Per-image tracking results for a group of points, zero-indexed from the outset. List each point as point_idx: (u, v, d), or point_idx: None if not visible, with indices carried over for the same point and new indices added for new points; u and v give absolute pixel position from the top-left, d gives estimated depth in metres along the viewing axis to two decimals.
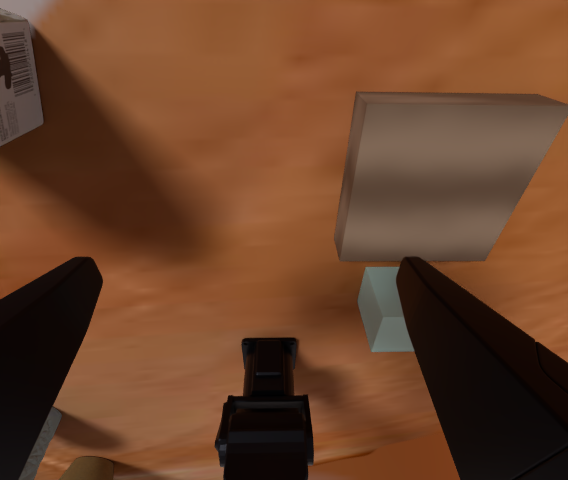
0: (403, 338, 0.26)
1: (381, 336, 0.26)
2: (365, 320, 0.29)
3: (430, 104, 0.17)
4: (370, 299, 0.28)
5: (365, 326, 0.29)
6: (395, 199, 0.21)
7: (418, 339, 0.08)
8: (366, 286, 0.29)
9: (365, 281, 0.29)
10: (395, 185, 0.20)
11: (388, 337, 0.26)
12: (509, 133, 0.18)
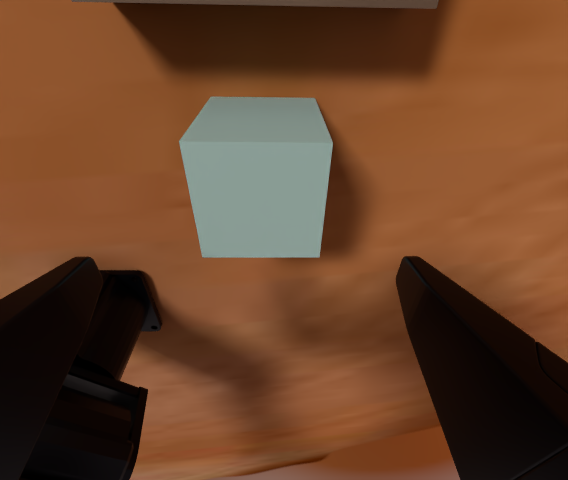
0: (257, 216, 0.12)
1: (205, 211, 0.11)
2: None
3: None
4: None
5: None
6: None
7: (418, 339, 0.08)
8: None
9: None
10: None
11: (222, 214, 0.12)
12: None
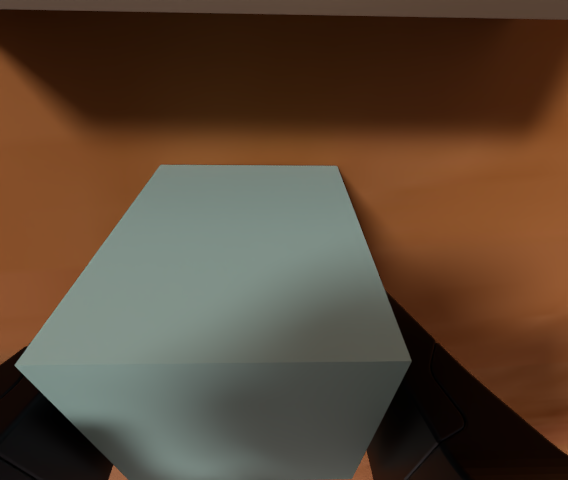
0: (231, 447, 0.06)
1: (120, 444, 0.05)
2: None
3: None
4: None
5: None
6: None
7: None
8: None
9: None
10: None
11: (158, 447, 0.06)
12: None
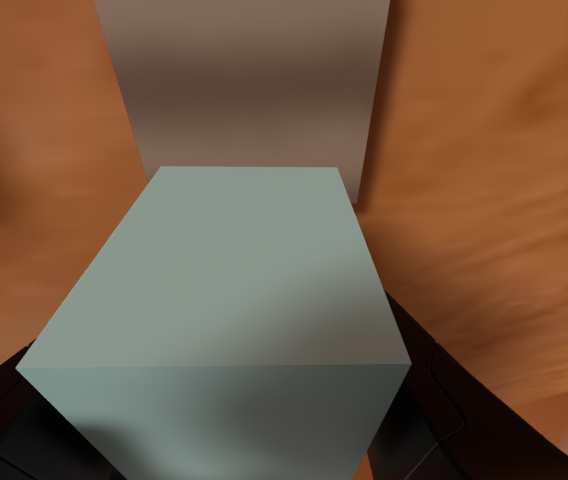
0: (231, 449, 0.06)
1: (120, 446, 0.05)
2: None
3: None
4: None
5: None
6: (189, 101, 0.14)
7: None
8: None
9: None
10: (180, 76, 0.14)
11: (158, 449, 0.06)
12: None
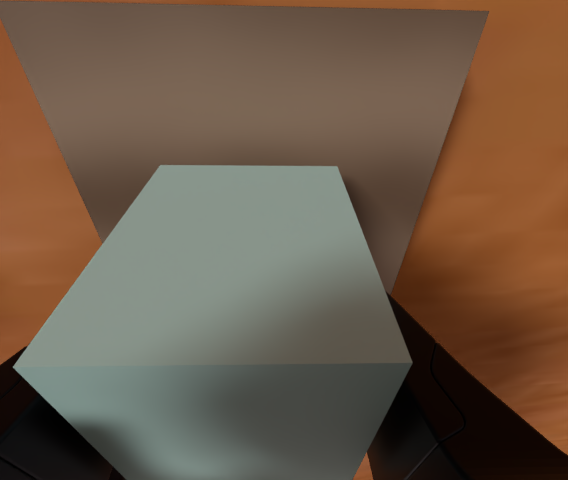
0: (231, 449, 0.06)
1: (119, 446, 0.05)
2: None
3: (150, 4, 0.07)
4: None
5: None
6: None
7: None
8: None
9: None
10: None
11: (157, 449, 0.05)
12: (359, 80, 0.08)
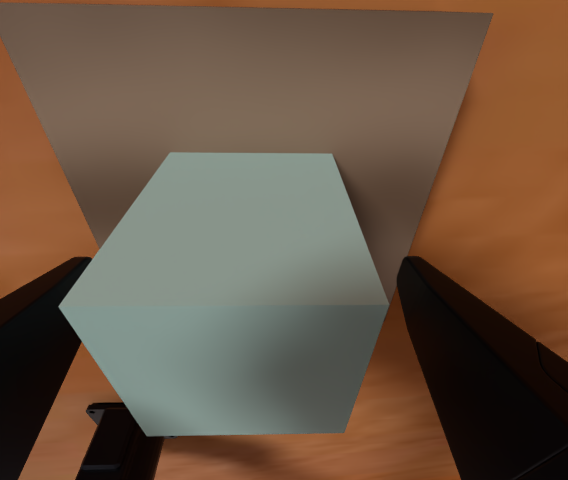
0: (236, 396, 0.06)
1: (139, 391, 0.06)
2: None
3: (146, 6, 0.07)
4: None
5: None
6: None
7: (419, 339, 0.08)
8: None
9: None
10: None
11: (172, 395, 0.06)
12: (361, 83, 0.08)
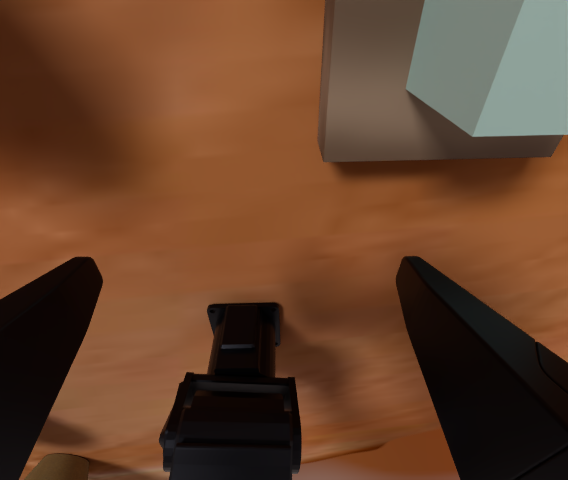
0: None
1: (525, 44, 0.08)
2: (441, 83, 0.11)
3: None
4: None
5: (441, 101, 0.11)
6: (410, 25, 0.12)
7: (418, 339, 0.08)
8: None
9: None
10: None
11: (547, 51, 0.08)
12: None
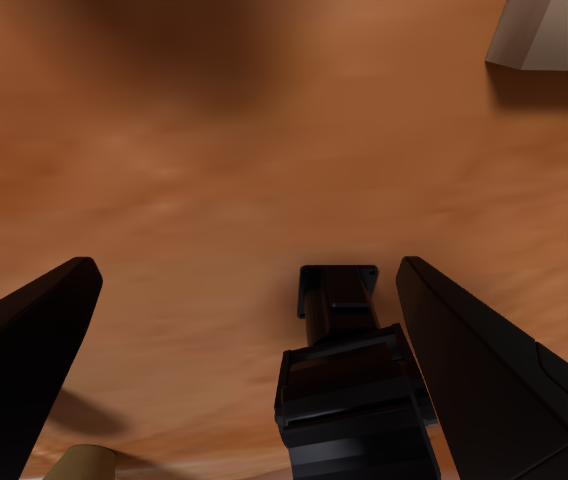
0: None
1: None
2: None
3: None
4: None
5: None
6: None
7: (418, 339, 0.08)
8: None
9: None
10: None
11: None
12: None
